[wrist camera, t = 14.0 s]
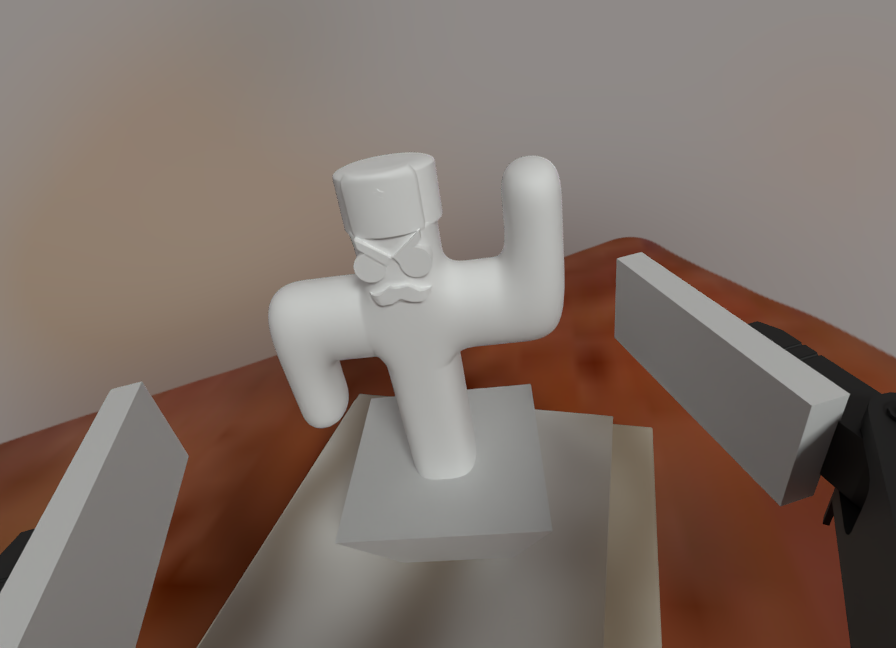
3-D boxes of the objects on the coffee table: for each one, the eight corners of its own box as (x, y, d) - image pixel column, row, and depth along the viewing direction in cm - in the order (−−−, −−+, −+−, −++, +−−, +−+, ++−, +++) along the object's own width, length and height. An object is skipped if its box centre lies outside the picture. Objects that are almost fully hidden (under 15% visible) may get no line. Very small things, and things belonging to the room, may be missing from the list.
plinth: (176, 751, 20) (112, 696, 17) (364, 427, 34) (344, 370, 31) (666, 947, 14) (682, 910, 12) (649, 459, 28) (655, 392, 26)
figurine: (367, 455, 25) (260, 149, 17) (559, 440, 24) (542, 105, 16) (333, 602, 19) (143, 235, 11) (588, 591, 18) (585, 173, 10)
